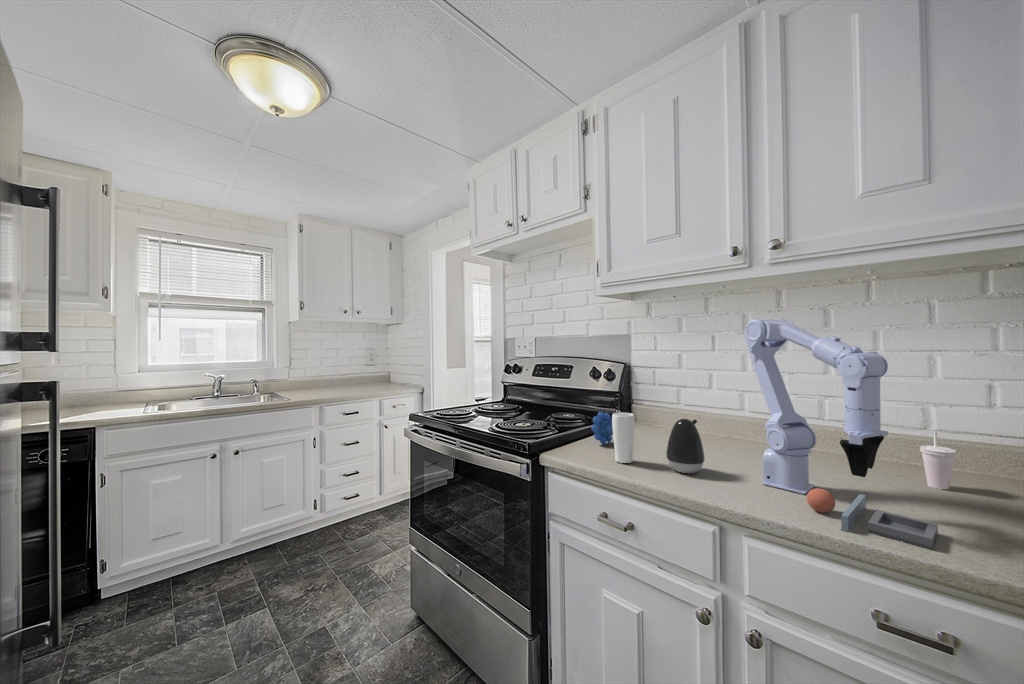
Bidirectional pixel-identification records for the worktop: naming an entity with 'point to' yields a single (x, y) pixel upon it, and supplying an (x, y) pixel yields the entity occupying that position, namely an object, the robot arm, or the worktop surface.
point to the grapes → (602, 427)
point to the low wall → (853, 512)
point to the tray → (903, 529)
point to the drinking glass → (623, 436)
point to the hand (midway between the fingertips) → (862, 471)
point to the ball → (821, 500)
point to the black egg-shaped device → (685, 447)
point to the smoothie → (938, 464)
